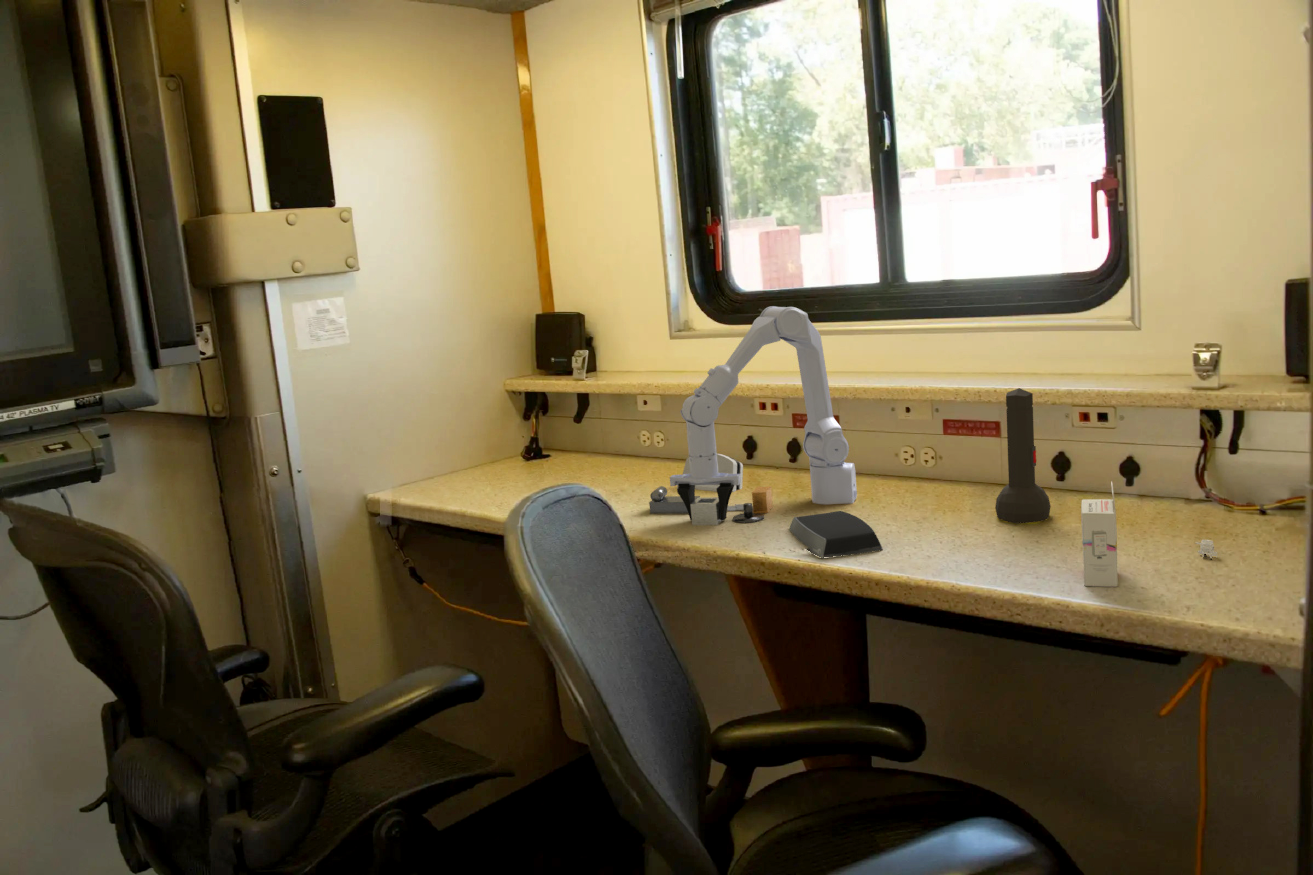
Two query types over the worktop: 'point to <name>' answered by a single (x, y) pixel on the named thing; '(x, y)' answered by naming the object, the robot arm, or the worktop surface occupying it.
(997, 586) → the worktop surface
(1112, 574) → the ink cartridge box
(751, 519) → the post
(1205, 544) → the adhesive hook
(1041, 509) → the flashlight
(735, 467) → the light grey piece
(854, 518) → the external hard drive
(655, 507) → the chain housing
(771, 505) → the chain slider
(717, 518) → the grey recessed block
